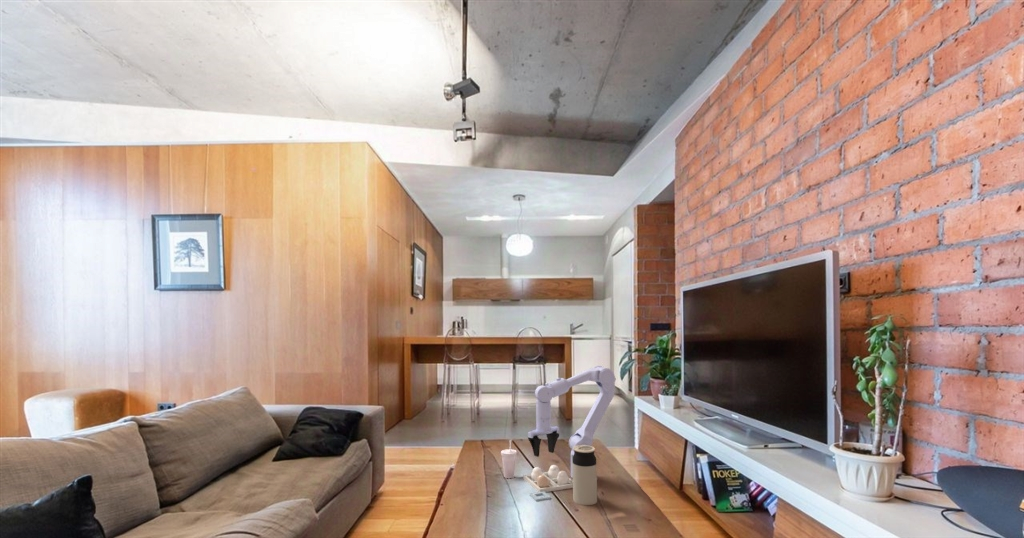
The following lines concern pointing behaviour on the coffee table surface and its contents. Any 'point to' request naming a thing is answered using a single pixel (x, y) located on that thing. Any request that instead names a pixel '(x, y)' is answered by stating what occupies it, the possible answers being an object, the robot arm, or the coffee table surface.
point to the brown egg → (543, 481)
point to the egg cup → (534, 496)
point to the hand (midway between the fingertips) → (543, 454)
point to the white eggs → (552, 474)
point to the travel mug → (584, 475)
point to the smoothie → (509, 462)
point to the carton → (552, 482)
